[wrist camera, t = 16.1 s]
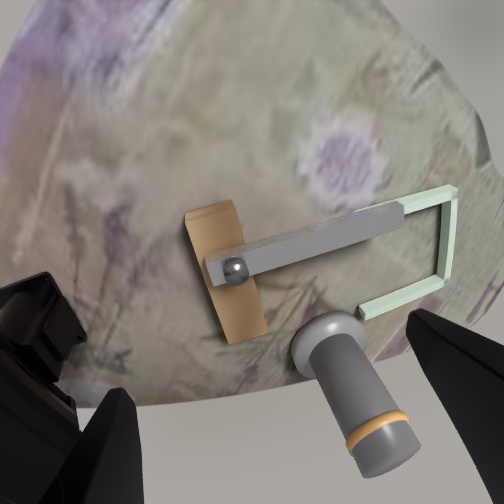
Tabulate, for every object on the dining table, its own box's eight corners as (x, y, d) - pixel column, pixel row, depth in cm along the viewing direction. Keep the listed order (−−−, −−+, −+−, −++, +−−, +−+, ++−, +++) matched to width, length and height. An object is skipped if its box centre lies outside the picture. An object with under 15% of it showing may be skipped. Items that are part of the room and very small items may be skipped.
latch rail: (226, 329, 25) (229, 344, 23) (184, 212, 20) (185, 222, 18) (263, 318, 25) (268, 332, 23) (231, 199, 20) (235, 207, 19)
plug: (296, 376, 29) (345, 494, 18) (284, 328, 26) (345, 467, 14) (360, 351, 30) (425, 455, 18) (359, 300, 26) (445, 417, 15)
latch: (211, 278, 20) (215, 294, 18) (204, 256, 19) (206, 271, 17) (396, 221, 21) (411, 231, 19) (395, 200, 20) (411, 209, 18)
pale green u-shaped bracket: (358, 312, 27) (365, 320, 26) (353, 211, 22) (361, 217, 21) (441, 277, 27) (448, 283, 26) (448, 184, 23) (458, 188, 22)
